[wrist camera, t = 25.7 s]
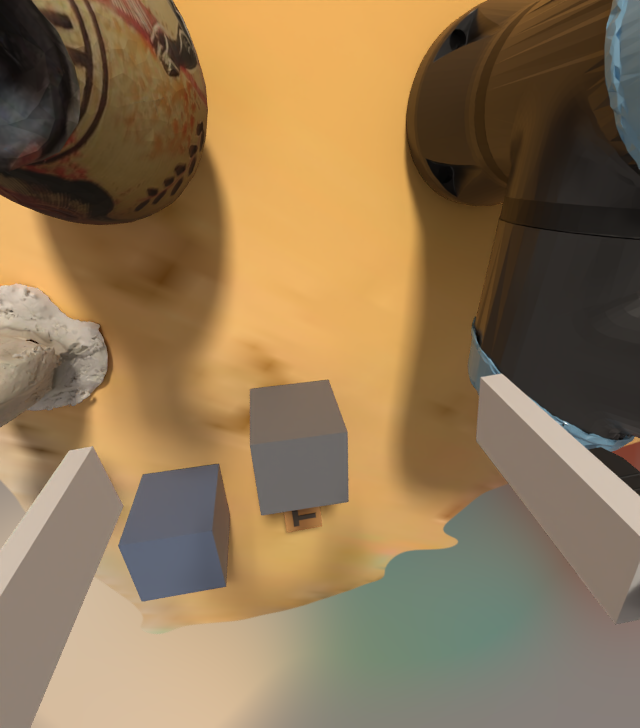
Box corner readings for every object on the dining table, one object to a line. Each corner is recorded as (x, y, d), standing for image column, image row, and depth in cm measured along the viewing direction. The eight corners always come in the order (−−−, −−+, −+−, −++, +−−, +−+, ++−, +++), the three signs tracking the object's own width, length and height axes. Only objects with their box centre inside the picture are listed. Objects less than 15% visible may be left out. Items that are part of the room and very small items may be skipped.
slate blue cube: (218, 463, 48) (212, 530, 39) (230, 515, 52) (226, 586, 44) (142, 474, 47) (118, 545, 38) (160, 526, 51) (141, 601, 42)
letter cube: (314, 474, 52) (319, 501, 47) (316, 499, 54) (322, 527, 50) (280, 480, 51) (282, 507, 47) (284, 505, 53) (286, 533, 49)
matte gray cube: (328, 379, 45) (347, 431, 36) (330, 441, 49) (348, 501, 41) (249, 389, 44) (249, 445, 35) (259, 451, 48) (261, 515, 39)
